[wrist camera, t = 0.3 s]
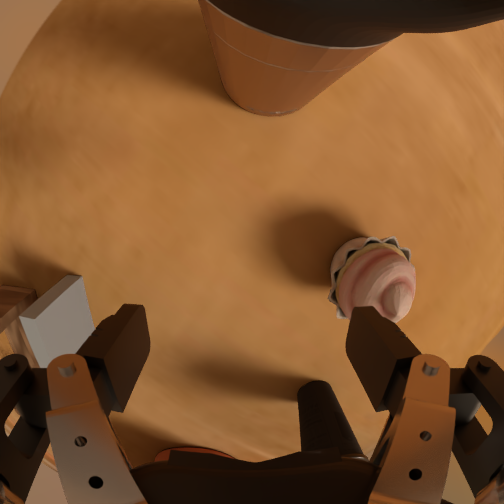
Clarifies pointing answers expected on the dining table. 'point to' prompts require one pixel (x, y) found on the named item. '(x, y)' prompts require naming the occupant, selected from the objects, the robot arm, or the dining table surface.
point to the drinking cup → (325, 422)
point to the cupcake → (373, 277)
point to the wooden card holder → (16, 320)
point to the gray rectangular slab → (58, 320)
